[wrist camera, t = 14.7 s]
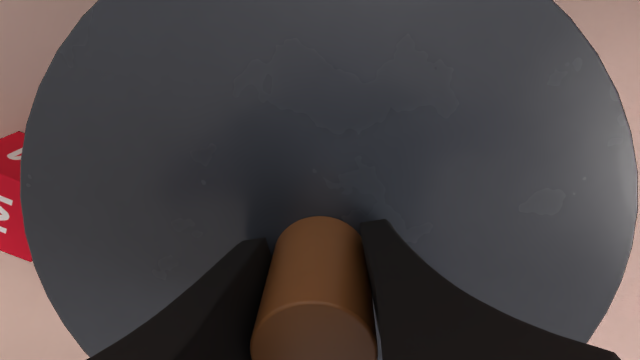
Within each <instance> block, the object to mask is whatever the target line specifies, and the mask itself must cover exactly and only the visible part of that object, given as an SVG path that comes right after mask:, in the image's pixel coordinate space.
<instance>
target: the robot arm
mask: <svg viewBox="0 0 640 360" xmlns="http://www.w3.org/2000/svg"><path fill="white" fill-rule="evenodd" d="M360 231H361V238H362V244H363V249H364V255H365V260H366V266H367V271H368V276H369V280H370V285H371V290H372V298H373V304H374V309H375V315H376V320H377V326H378V330H379V334H380V339H381V349H382V360H621V359H620V358H619V357H618V356H617V355H616V354H615V353H614V352H611V351H608V350H605V349H601V348H598V347H595V346H592V345H589V344H585V343H582V342H579V341H576V340H573V339H569V338H566V337H563V336H560V335H557V334H554V333H551V332H548V331H546V330H543V329H541V328H538V327H536V326H533V325H531V324H528V323H526V322H523V321H521V320H519V319H516V318H514V317H512V316H510V315H508V314H505V313H503V312H501V311H499V310H497V309H495V308H493V307H491V306H490V305H488V304H486V303H484V302H482V301H480V300H478V299H476V298H475V297H473V296H471V295H469V294H468V293H466V292H464V291H463V290H461V289H460V288H458V287H457V286H455V285H454V284H452V283H451V282H450V281H448V280H447V279H446V278H444V277H443V276H442V275H441V274H439V273H438V272H437V271H436V270H434V269H433V268H432V267H431V266H430V265H428V264H427V263H426V262H425V261H424V260H423V259H422V258H421V257H420V256H419V255H418V254H417V253H416V252H415V251H414V250H413V249H412V248H411V247H410V246H409V245H408V244H407V243H406V242H405V241H404V240H403V239H402V238H401V236H400V235H399V234H398V233H397V232H396V230H395V229H394V228H393V226H392V225H391V223H390V222H389V221H388V220H386V219H381V220H374V221H368V222H361V224H360ZM271 260H272V259H271V255H270V251H269V248H268V244H267V240H266V237H264V238H257V239H251V240H244V241H242V242H240V243H239V244H237V245H236V246H235V247H234V248H233V249H231V250H230V251H229V252H228V253H227V254H226V255H225V256H224V257H223V258H222V259H220V260H219V261H218V262H217V263H216V264H215V265H214V266H213V267H212V268H211V269H210V270H208V271H207V272H206V273H205V274H204V275H203V276H202V277H201V278H200V279H199V280H197V281H196V282H195V283H194V284H193V285H192V286H190V287H189V288H188V289H187V290H186V291H185V292H183V293H182V294H181V295H180V296H179V297H177V298H176V299H175V300H174V301H173V302H171V303H170V304H169V305H168V306H167V307H165V308H164V309H163V310H161V311H160V312H159V313H158V314H156V315H155V316H153V317H152V318H151V319H149V320H148V321H147V322H145V323H144V324H142V325H141V326H139V327H138V328H137V329H135V330H134V331H132V332H131V333H129V334H128V335H126V336H125V337H123V338H122V339H120V340H119V341H117V342H115V343H114V344H112V345H110V346H109V347H107V348H105V349H104V350H102V351H100V352H99V353H97V354H95V355H94V356H92V357H90V358H89V359H87V360H252V359H251V355H250V340H251V337H252V333H253V329H254V325H255V321H256V317H257V314H258V310H259V306H260V302H261V298H262V294H263V291H264V287H265V283H266V279H267V275H268V271H269V268H270V264H271Z"/></svg>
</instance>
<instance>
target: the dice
mask: <svg viewBox="0 0 640 360" xmlns="http://www.w3.org/2000/svg"><path fill="white" fill-rule="evenodd" d="M24 136H25V134H24V133H22V132H20V131H18V132H16V133H13V134H11V135H8V136H6V137H4V138H1V139H0V250H1V251H3V252H6V253H8V254H11V255H14V256H16V257H19V258H21V259H24V260H27V261H29V262H32V261H33V260H32V256H31V253H30V249H29V246H28V242H27V239H26V235H25V230H24V223H23V216H22V208H21V201H20V161H21V155H22V149H23V142H24Z"/></svg>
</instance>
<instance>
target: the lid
mask: <svg viewBox="0 0 640 360" xmlns="http://www.w3.org/2000/svg"><path fill="white" fill-rule="evenodd" d="M20 201H21V208H22V216H23V223H24V230H25V235H26V239H27V242H28V246H29V249H30V253H31V256H32V260H33V263H34V267H35V269H36V271H37V274H38V276H39V278H40V281H41V283H42V285H43V287H44V290H45V292H46V294H47V297H48V298H49V300H50V302H51V304H52V305H53V307H54V309H55V310H56V312H57V314H58V315H59V317H60V319H61V321H62V322H63V324H64V326H65V327H66V328H67V330H68V331H69V332H70V333H71V335H72V336H73V337H74V339H75V340H76V341H77V343H78V344H79V345H80V347H81V348H82V349H83V351H84V352H85V353H86V354H87V355H88V356H89V357H92V356H94V355H95V354H97V353H99V352H100V351H102V350H104V349H105V348H107V347H109V346H110V345H112V344H114V343H115V342H117V341H119V340H120V339H122V338H123V337H125V336H126V335H128V334H129V333H131V332H132V331H134V330H135V329H137V328H138V327H139V326H141V325H142V324H144V323H145V322H147V321H148V320H149V319H151V318H152V317H153V316H155V315H156V314H158V313H159V312H160V311H161V310H163V309H164V308H165V307H167V306H168V305H169V304H170V303H171V302H173V301H174V300H175V299H176V298H177V297H179V296H180V295H181V294H182V293H183V292H185V291H186V290H187V289H188V288H189V287H190V286H192V285H193V284H194V283H195V282H196V281H197V280H199V279H200V278H201V277H202V276H203V275H204V274H205V273H206V272H207V271H208V270H210V269H211V268H212V267H213V266H214V265H215V264H216V263H217V262H218V261H219V260H220V259H222V258H223V257H224V256H225V255H226V254H227V253H228V252H229V251H230V250H231V249H233V248H234V247H235V246H236V245H237V244H239V243H240V242H242V241H244V240H251V239H257V238H264V237H266V240H267V244H268V248H269V251H270V255H271V259H272V260H271V264H270V268H269V271H268V275H267V279H266V283H265V287H264V291H263V294H262V298H261V302H260V306H259V310H258V314H257V317H256V321H255V325H254V329H253V333H252V337H251V340H250V355H251V359H252V360H382V349H381V339H380V334H379V330H378V326H377V320H376V315H375V309H374V304H373V298H372V290H371V285H370V280H369V276H368V271H367V266H366V260H365V255H364V249H363V244H362V238H361V231H360V224H361V222H368V221H374V220H381V219H386V220H388V221H389V222H390V223H391V225H392V226H393V228H394V229H395V230H396V232H397V233H398V234H399V235H400V236H401V238H402V239H403V240H404V241H405V242H406V243H407V244H408V245H409V246H410V247H411V248H412V249H413V250H414V251H415V252H416V253H417V254H418V255H419V256H420V257H421V258H422V259H423V260H424V261H425V262H426V263H427V264H428V265H430V266H431V267H432V268H433V269H434V270H436V271H437V272H438V273H439V274H441V275H442V276H443V277H444V278H446V279H447V280H448V281H450V282H451V283H452V284H454V285H455V286H457V287H458V288H460V289H461V290H463V291H464V292H466V293H468V294H469V295H471V296H473V297H475V298H476V299H478V300H480V301H482V302H484V303H486V304H488V305H490V306H491V307H493V308H495V309H497V310H499V311H501V312H503V313H505V314H508V315H510V316H512V317H514V318H516V319H519V320H521V321H523V322H526V323H528V324H531V325H533V326H536V327H538V328H541V329H543V330H546V331H548V332H551V333H554V334H557V335H560V336H563V337H566V338H569V339H573V340H576V341H579V342H582V343H585V344H586V343H587V342H588V341H589V339H590V338H591V336H592V335H593V333H594V331H595V330H596V328H597V327H598V325H599V324H600V322H601V321H602V319H603V318H604V316H605V314H606V313H607V311H608V309H609V307H610V304H611V302H612V300H613V298H614V296H615V294H616V292H617V290H618V287H619V285H620V283H621V281H622V278H623V275H624V271H625V268H626V265H627V262H628V258H629V255H630V252H631V249H632V244H633V238H634V231H635V225H636V218H637V211H638V171H637V165H636V159H635V153H634V146H633V140H632V134H631V130H630V127H629V124H628V121H627V118H626V115H625V112H624V109H623V106H622V103H621V100H620V97H619V94H618V92H617V90H616V88H615V86H614V84H613V82H612V80H611V78H610V76H609V75H608V73H607V71H606V69H605V67H604V65H603V63H602V61H601V59H600V57H599V56H598V54H597V52H596V51H595V50H594V48H593V47H592V46H591V44H590V43H589V42H588V40H587V39H586V38H585V36H584V35H583V34H582V32H581V31H580V30H579V28H578V27H577V26H576V24H575V23H574V22H573V20H572V19H571V18H570V17H569V16H568V15H567V14H566V13H565V12H564V11H563V10H562V9H561V8H560V7H559V6H558V5H557V4H556V3H555V2H554V1H553V0H98V1H97V2H96V3H95V4H94V5H93V6H92V7H91V8H90V9H89V10H88V11H87V12H86V13H85V14H84V15H83V16H82V18H81V19H80V20H79V22H78V23H77V24H76V26H75V27H74V28H73V30H72V31H71V32H70V34H69V35H68V37H67V38H66V39H65V41H64V42H63V43H62V45H61V46H60V47H59V49H58V50H57V52H56V54H55V56H54V58H53V60H52V62H51V64H50V66H49V68H48V70H47V72H46V74H45V76H44V77H43V79H42V81H41V83H40V85H39V87H38V90H37V93H36V97H35V100H34V103H33V106H32V109H31V112H30V115H29V118H28V121H27V124H26V130H25V136H24V142H23V149H22V155H21V161H20Z"/></svg>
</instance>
